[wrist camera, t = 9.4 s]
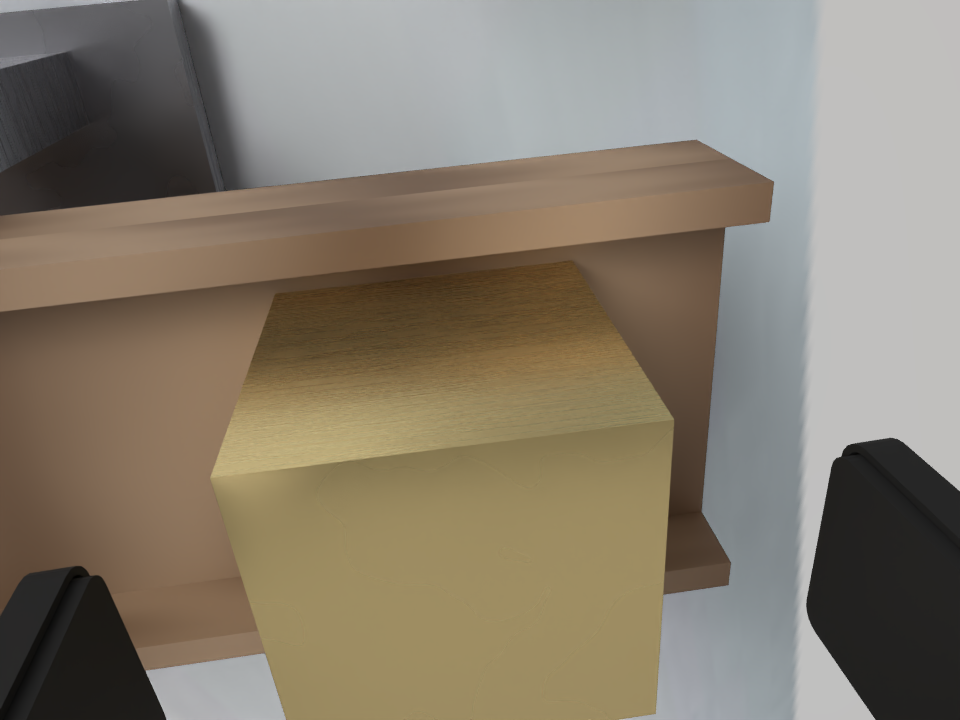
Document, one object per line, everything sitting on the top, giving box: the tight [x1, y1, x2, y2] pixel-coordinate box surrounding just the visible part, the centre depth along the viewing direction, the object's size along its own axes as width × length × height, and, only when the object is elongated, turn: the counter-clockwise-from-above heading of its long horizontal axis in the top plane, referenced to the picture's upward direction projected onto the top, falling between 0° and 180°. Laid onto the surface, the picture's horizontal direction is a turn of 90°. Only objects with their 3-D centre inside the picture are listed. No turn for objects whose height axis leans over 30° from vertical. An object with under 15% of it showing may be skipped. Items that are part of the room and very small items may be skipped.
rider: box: [210, 261, 674, 720], centre depth 11 cm, size 5×5×5 cm
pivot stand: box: [0, 0, 225, 216], centre depth 17 cm, size 8×14×8 cm, turn 5°
